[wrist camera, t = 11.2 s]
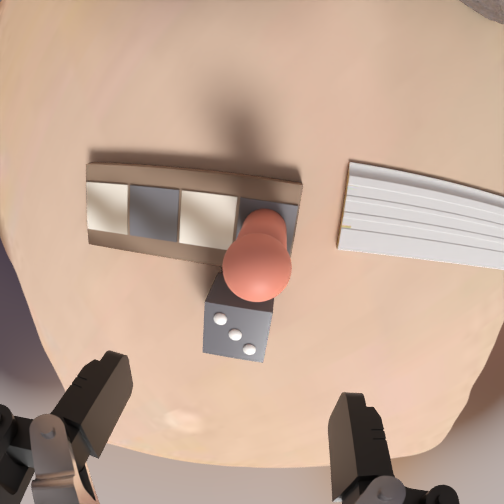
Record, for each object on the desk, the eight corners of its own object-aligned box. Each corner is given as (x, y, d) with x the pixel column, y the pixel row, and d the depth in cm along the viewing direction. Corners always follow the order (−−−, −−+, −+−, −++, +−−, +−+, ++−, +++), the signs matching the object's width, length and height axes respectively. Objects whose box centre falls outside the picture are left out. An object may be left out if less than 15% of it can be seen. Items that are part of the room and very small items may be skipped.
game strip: (93, 162, 29) (85, 164, 28) (302, 182, 28) (303, 185, 26) (95, 239, 32) (87, 244, 31) (286, 269, 31) (287, 277, 30)
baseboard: (349, 146, 27) (335, 244, 31) (356, 147, 24) (339, 255, 28) (549, 201, 25) (530, 270, 29) (562, 206, 22) (541, 279, 26)
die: (218, 272, 32) (204, 302, 27) (275, 281, 32) (272, 313, 26) (214, 319, 35) (202, 353, 29) (266, 327, 34) (262, 363, 29)
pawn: (242, 201, 28) (219, 242, 18) (293, 209, 27) (298, 254, 18) (237, 249, 29) (213, 309, 19) (285, 256, 29) (284, 320, 19)
